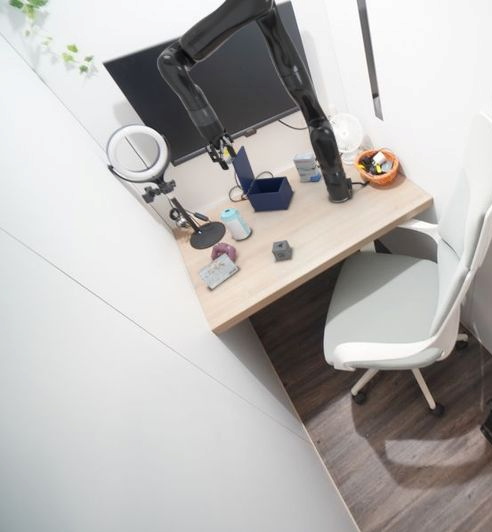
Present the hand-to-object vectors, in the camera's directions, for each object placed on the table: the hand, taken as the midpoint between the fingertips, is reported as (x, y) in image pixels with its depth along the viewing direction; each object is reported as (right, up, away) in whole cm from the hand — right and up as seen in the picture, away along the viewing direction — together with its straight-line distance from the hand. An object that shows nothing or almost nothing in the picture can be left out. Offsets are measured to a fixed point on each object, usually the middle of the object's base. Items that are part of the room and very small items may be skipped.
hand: (230, 163), depth 119 cm
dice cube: (+19, -34, +3) cm, 39 cm away
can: (-2, -26, +13) cm, 29 cm away
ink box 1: (-1, -43, -2) cm, 43 cm away
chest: (+7, -9, +25) cm, 28 cm away
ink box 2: (+20, +4, +35) cm, 40 cm away
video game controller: (-4, -35, +5) cm, 36 cm away
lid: (-1, +1, +13) cm, 13 cm away
